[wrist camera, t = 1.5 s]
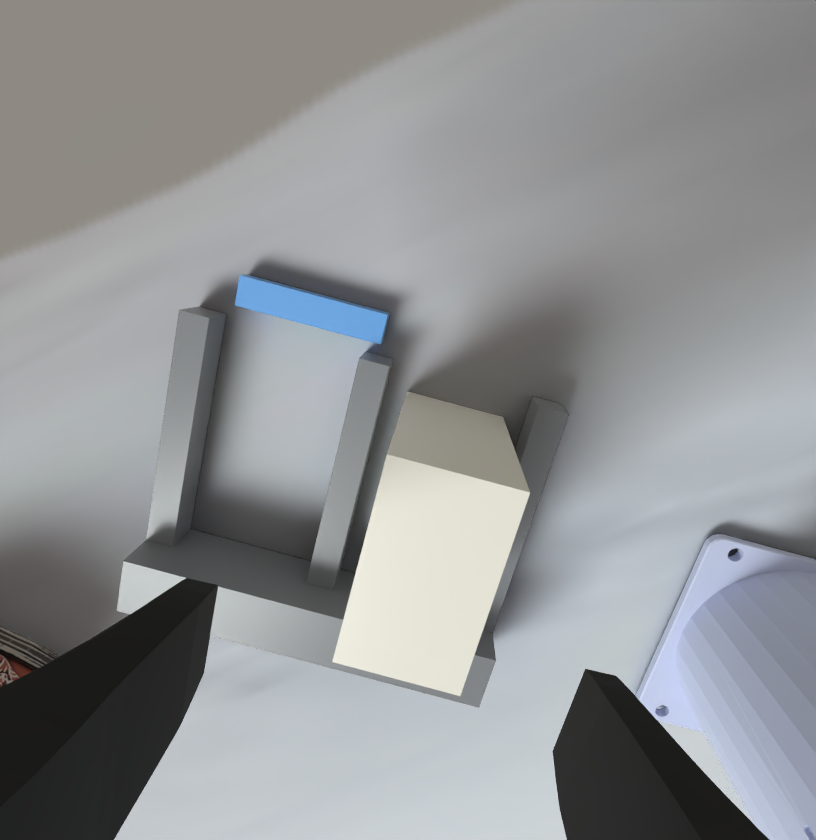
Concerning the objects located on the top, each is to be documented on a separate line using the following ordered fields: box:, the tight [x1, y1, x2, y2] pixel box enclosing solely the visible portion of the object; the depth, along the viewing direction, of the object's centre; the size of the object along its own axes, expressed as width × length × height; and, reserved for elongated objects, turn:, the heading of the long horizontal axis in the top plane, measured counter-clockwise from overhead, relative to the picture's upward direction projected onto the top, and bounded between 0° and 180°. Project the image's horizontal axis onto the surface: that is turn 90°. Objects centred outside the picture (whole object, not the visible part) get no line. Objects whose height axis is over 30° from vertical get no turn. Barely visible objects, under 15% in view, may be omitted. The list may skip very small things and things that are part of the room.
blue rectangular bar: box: [235, 275, 390, 344], centre depth 19 cm, size 5×1×1 cm, turn 75°
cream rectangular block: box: [332, 391, 530, 696], centre depth 18 cm, size 4×6×7 cm, turn 166°
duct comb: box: [117, 307, 569, 707], centre depth 20 cm, size 13×10×3 cm
